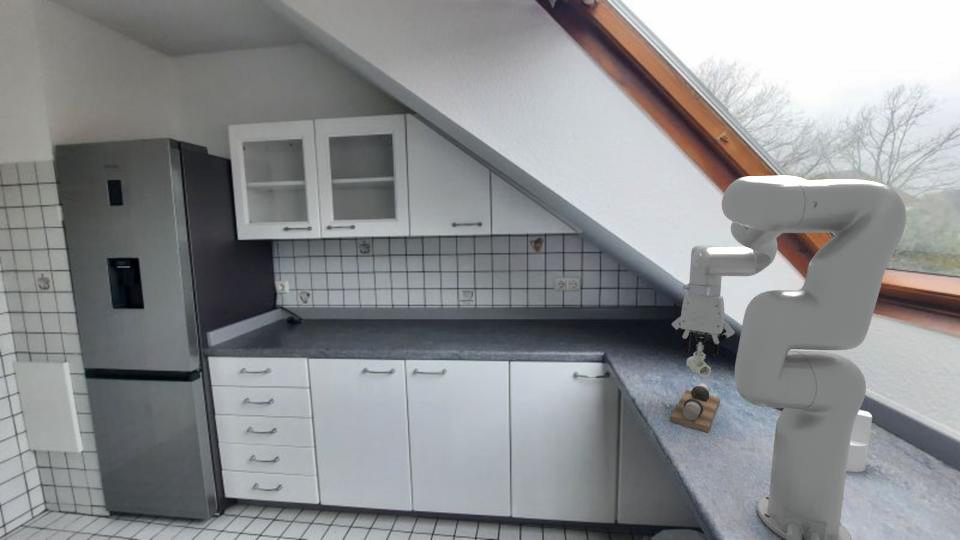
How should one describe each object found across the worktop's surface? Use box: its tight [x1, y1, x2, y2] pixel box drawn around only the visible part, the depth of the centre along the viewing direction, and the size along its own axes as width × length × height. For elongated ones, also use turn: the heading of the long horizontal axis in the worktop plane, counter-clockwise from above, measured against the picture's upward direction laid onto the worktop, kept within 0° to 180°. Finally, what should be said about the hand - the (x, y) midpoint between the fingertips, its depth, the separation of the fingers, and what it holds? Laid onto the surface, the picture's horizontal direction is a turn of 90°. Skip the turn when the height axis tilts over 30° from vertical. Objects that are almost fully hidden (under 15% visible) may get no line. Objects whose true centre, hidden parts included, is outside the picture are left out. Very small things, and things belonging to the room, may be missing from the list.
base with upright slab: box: [846, 409, 873, 473], centre depth 85 cm, size 9×9×12 cm
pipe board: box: [669, 382, 721, 433], centre depth 107 cm, size 21×9×6 cm, turn 141°
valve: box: [686, 331, 713, 378], centre depth 106 cm, size 7×7×12 cm
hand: (700, 353), depth 105 cm, fingers closed on valve, 5 cm apart
